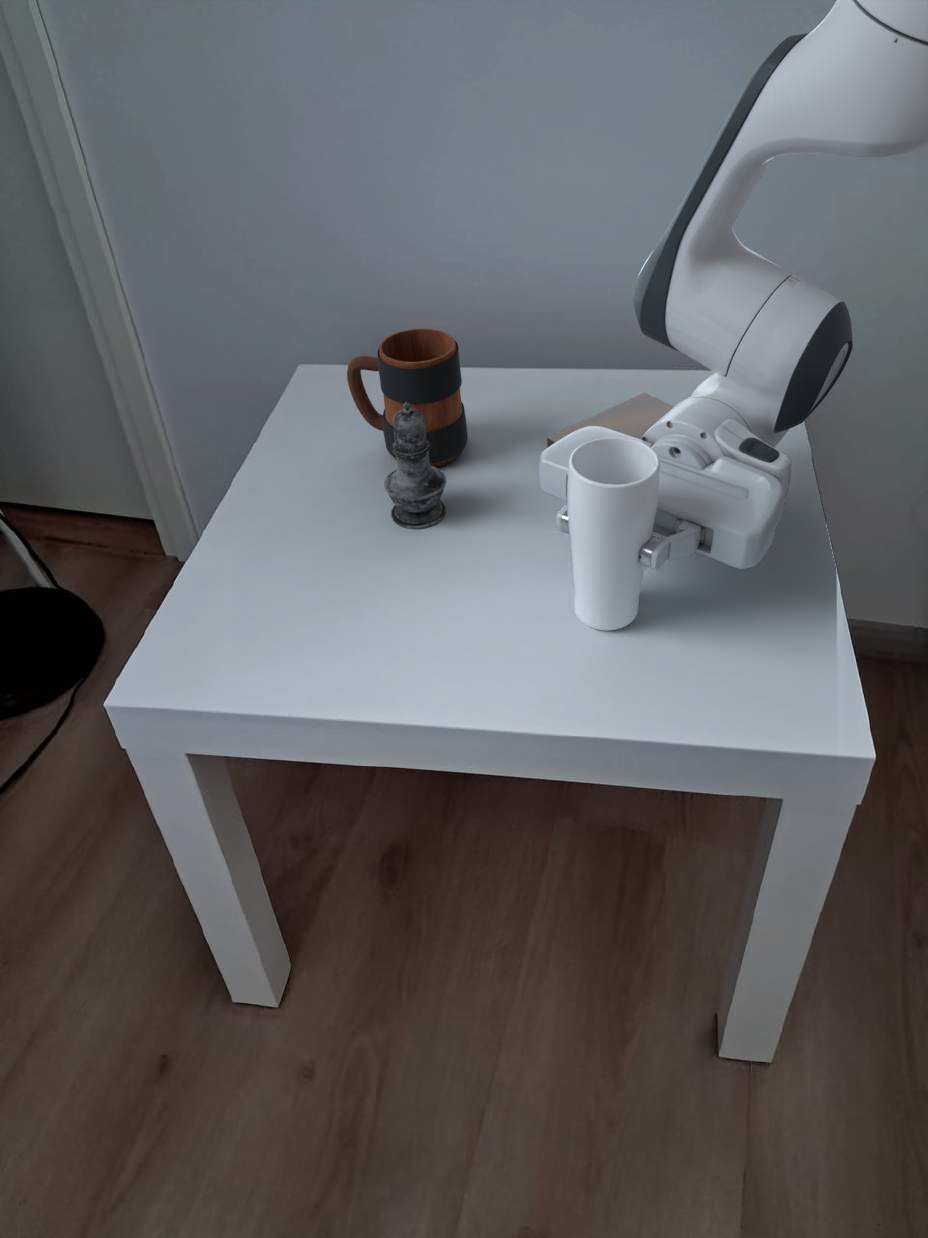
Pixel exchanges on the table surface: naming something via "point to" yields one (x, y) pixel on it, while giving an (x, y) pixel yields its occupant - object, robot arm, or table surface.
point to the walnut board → (624, 417)
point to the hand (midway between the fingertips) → (604, 542)
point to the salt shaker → (414, 474)
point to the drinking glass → (610, 526)
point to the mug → (416, 389)
